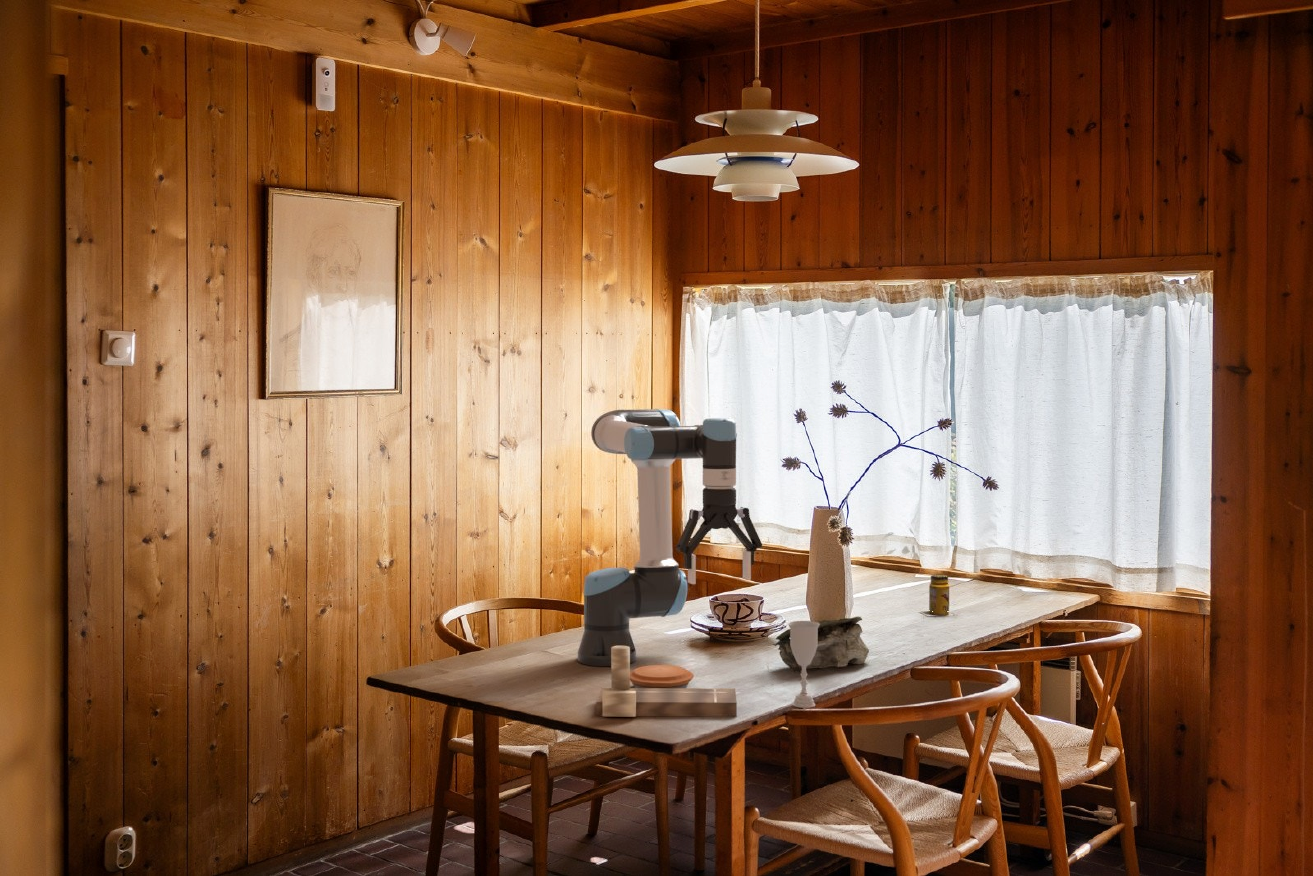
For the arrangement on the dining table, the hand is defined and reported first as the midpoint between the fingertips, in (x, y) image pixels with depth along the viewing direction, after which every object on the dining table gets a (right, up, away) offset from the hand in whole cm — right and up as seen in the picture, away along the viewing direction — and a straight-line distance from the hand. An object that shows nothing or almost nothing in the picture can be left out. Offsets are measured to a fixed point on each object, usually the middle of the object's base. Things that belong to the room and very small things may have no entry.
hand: (719, 581), depth 271 cm
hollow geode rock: (+27, -26, +32) cm, 49 cm away
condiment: (+72, -22, +102) cm, 127 cm away
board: (-12, -27, -7) cm, 30 cm away
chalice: (+18, -27, -4) cm, 33 cm away
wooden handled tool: (-22, -27, -9) cm, 36 cm away
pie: (-13, -27, +10) cm, 31 cm away
